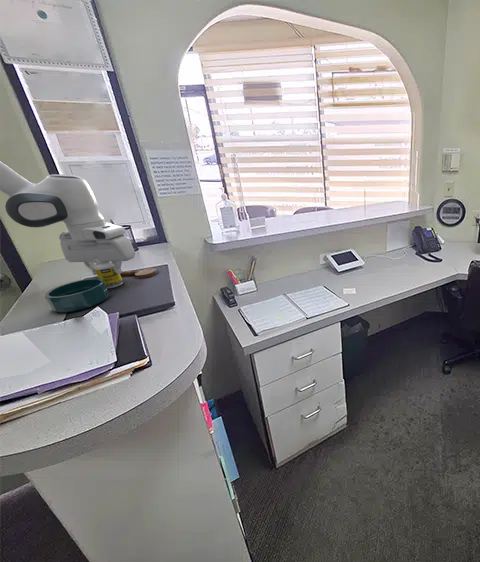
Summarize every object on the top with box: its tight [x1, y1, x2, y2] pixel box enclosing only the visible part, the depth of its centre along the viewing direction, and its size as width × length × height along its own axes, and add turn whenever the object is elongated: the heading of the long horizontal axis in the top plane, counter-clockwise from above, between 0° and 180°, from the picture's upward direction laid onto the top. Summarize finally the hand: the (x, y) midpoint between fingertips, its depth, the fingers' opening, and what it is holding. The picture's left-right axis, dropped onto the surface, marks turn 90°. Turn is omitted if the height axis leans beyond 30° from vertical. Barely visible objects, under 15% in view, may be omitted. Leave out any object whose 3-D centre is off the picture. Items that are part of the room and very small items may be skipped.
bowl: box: [44, 277, 110, 313], centre depth 88 cm, size 12×12×5 cm
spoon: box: [120, 267, 158, 279], centre depth 107 cm, size 21×6×2 cm, turn 87°
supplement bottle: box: [94, 259, 124, 290], centre depth 98 cm, size 5×5×10 cm
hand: (108, 273), depth 98 cm, fingers closed on supplement bottle, 5 cm apart
